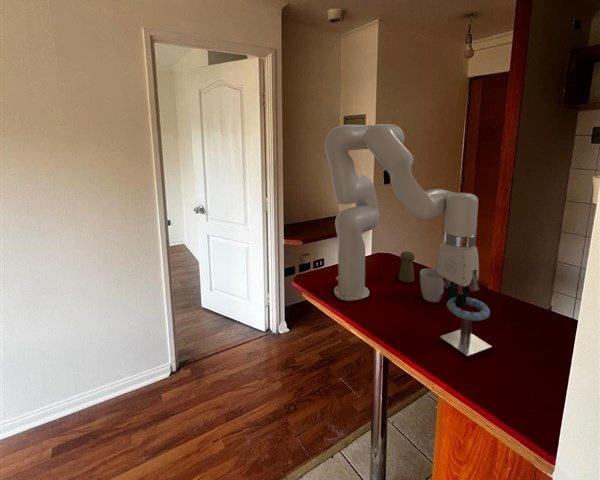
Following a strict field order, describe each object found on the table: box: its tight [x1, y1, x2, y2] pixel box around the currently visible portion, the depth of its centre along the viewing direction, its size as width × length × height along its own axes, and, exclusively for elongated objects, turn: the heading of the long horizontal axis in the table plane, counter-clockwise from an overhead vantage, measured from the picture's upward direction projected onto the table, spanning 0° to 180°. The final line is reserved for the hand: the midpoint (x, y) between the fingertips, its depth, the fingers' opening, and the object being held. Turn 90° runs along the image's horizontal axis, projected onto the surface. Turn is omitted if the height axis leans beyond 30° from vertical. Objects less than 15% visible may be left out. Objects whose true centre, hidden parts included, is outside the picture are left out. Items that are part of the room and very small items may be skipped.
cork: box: [398, 250, 416, 283], centre depth 127 cm, size 6×6×11 cm
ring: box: [446, 296, 491, 322], centre depth 86 cm, size 10×10×2 cm
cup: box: [419, 267, 445, 303], centre depth 110 cm, size 8×8×10 cm
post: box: [439, 318, 493, 358], centre depth 87 cm, size 9×9×9 cm
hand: (455, 303), depth 89 cm, fingers closed on ring, 2 cm apart
